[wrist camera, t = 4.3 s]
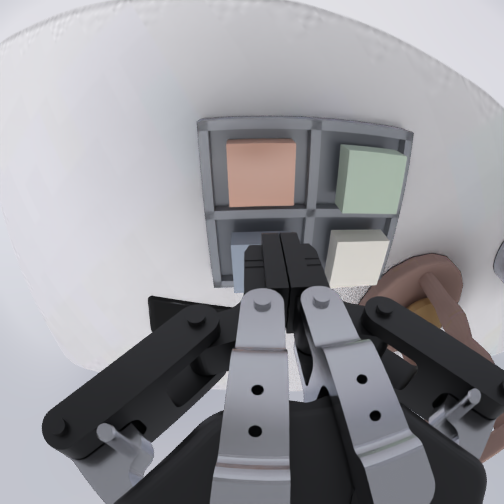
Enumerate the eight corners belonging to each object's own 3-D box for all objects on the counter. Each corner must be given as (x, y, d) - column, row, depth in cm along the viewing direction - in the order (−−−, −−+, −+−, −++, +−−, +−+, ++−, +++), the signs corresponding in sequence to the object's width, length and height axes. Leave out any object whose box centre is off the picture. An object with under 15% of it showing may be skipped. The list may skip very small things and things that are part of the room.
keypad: (401, 127, 20) (413, 132, 19) (374, 267, 29) (380, 279, 28) (201, 118, 20) (196, 121, 18) (215, 274, 29) (214, 287, 27)
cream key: (380, 229, 23) (389, 240, 22) (369, 272, 26) (376, 284, 24) (331, 229, 23) (337, 242, 21) (323, 274, 26) (328, 288, 24)
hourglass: (376, 251, 28) (480, 468, 7) (472, 252, 29) (564, 389, 8) (339, 348, 38) (375, 504, 17) (426, 335, 39) (476, 456, 18)
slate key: (290, 230, 23) (294, 243, 21) (287, 276, 26) (290, 290, 24) (231, 232, 23) (230, 245, 21) (234, 278, 26) (234, 292, 24)
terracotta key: (291, 138, 20) (296, 143, 18) (289, 196, 23) (293, 205, 21) (227, 139, 20) (226, 144, 18) (230, 197, 23) (229, 207, 21)
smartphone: (146, 297, 30) (271, 314, 32) (148, 292, 31) (270, 309, 33) (150, 333, 34) (259, 347, 36) (152, 328, 35) (259, 343, 37)
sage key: (395, 149, 19) (407, 156, 17) (386, 204, 22) (396, 214, 20) (340, 144, 19) (349, 150, 17) (334, 202, 22) (342, 213, 20)
